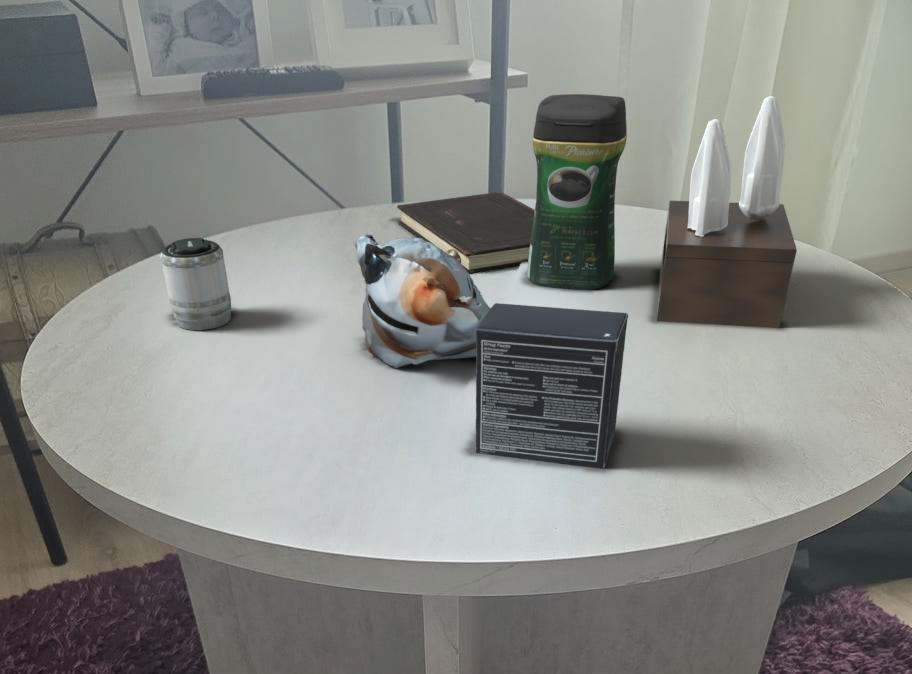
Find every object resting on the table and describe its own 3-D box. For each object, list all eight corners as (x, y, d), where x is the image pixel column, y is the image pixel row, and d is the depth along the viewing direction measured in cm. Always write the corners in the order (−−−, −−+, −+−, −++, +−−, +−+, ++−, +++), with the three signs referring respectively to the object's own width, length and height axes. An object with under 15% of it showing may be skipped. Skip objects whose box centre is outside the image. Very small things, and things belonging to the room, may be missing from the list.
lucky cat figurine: (528, 344, 90) (531, 234, 77) (447, 425, 87) (437, 325, 74) (416, 271, 94) (401, 156, 81) (336, 346, 92) (308, 239, 79)
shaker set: (761, 209, 97) (784, 89, 89) (790, 218, 94) (817, 95, 87) (672, 227, 92) (689, 102, 85) (700, 237, 89) (721, 109, 82)
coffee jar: (617, 274, 106) (637, 89, 94) (605, 297, 100) (625, 103, 88) (535, 267, 108) (545, 86, 96) (519, 289, 102) (527, 100, 90)
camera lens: (228, 306, 100) (215, 231, 95) (238, 326, 95) (226, 248, 90) (170, 315, 98) (154, 238, 93) (178, 335, 94) (162, 256, 89)
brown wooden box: (767, 280, 103) (783, 204, 98) (778, 333, 91) (797, 249, 86) (659, 274, 105) (669, 200, 100) (655, 326, 93) (667, 244, 88)
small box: (616, 437, 75) (632, 309, 68) (605, 475, 70) (620, 341, 63) (491, 422, 77) (494, 297, 71) (472, 458, 72) (473, 328, 66)
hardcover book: (466, 274, 107) (466, 253, 105) (397, 223, 123) (397, 205, 122) (586, 255, 111) (588, 235, 110) (504, 208, 128) (505, 191, 126)
